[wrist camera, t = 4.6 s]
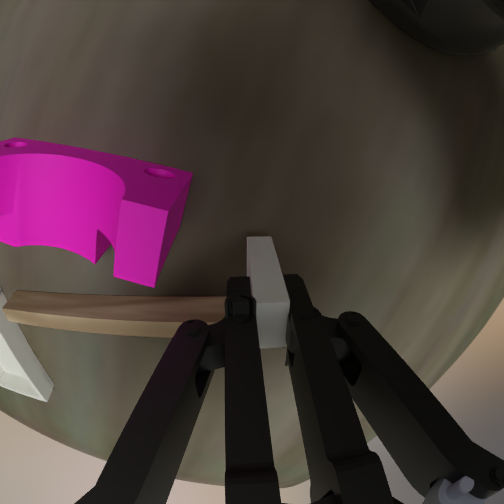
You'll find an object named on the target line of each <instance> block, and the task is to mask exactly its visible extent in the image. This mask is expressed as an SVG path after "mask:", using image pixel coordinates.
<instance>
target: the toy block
mask: <svg viewBox="0 0 504 504" xmlns="http://www.w3.org/2000/svg"><path fill="white" fill-rule="evenodd" d="M192 176H193V173H191V172H187V171H183V170H179V169H175V168H171V167H167V166H163V165H159V164H155V163H150V162H146V161H142V160H137V159H133V158H128V157H124V156H119V155H114V154H109V153H104V152H99V151H94V150H89V149H84V148H78V147H73V146H67V145H61V144H55V143H49V142H43V141H36V140H29V139H22V138H11V139H8V140H4V141H1V142H0V241H1V242H4V243H6V244H9V245H11V246H14V247H18V246H26V245H45V246H53V247H58V248H63V249H66V250H69V251H72V252H75V253H77V254H79V255H81V256H83V257H85V258H87V259H88V260H90V261H91V262H93V263H94V264H96V263H97V261H98V260H99V259H100V257H101V256H102V255H103V254H104V252H105V251H106V250H107V248H108V247H109V246H110V245H111V244H112V246H113V248H114V251H115V261H114V275H113V276H114V277H117V278H120V279H124V280H127V281H131V282H134V283H138V284H142V285H145V286H149V287H153V288H154V287H155V285H156V282H157V280H158V277H159V275H160V272H161V270H162V267H163V265H164V262H165V260H166V258H167V255H168V253H169V250H170V248H171V246H172V243H173V241H174V239H175V236H176V234H177V232H178V229H179V227H180V224H181V220H182V215H183V211H184V207H185V203H186V199H187V195H188V191H189V187H190V183H191V180H192Z"/></svg>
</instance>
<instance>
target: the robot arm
mask: <svg viewBox="0 0 504 504" xmlns="http://www.w3.org/2000/svg"><path fill="white" fill-rule="evenodd" d="M371 1H372V2H373V3H374V4H375V5H376V6H377V7H378V8H379V9H380V10H381V11H382V12H383V13H384V14H385V15H386V16H387V17H388V18H389V19H390V20H392V21H393V22H394V23H395V24H396V25H397V26H399V27H400V28H401V29H402V30H404V31H405V32H406V33H408V34H409V35H411V36H412V37H413V38H415V39H417V40H418V41H420V42H421V43H423V44H425V45H427V46H429V47H430V48H433V49H435V50H437V51H440V52H442V53H445V54H449V55H454V56H470V55H482V54H487V53H490V52H492V51H494V50H495V49H496V48H497V47H499V46H501V45H504V0H371ZM224 305H225V317H224V318H223V319H222V320H221V321H219V322H217V323H214V324H210V325H208V324H207V323H206V322H204V321H202V320H199V319H192V320H187V321H185V322H183V323H182V324H181V325H180V326H179V327H178V329H177V331H176V333H175V334H174V336H173V338H172V340H171V342H170V343H169V345H168V347H167V349H166V351H165V352H164V354H163V356H162V358H161V360H160V362H159V363H158V365H157V367H156V369H155V371H154V373H153V374H152V376H151V378H150V380H149V382H148V384H147V386H146V387H145V389H144V391H143V393H142V395H141V397H140V399H139V401H138V402H137V404H136V406H135V408H134V410H133V412H132V414H131V416H130V418H129V420H128V422H127V423H126V425H125V427H124V429H123V431H122V433H121V435H120V437H119V439H118V441H117V443H116V445H115V447H114V449H113V451H112V453H111V455H110V457H109V459H108V461H107V463H106V465H105V467H104V469H103V471H102V473H101V475H100V477H99V479H98V481H97V483H96V485H95V486H94V487H93V488H92V489H91V490H90V491H89V492H87V493H86V494H85V495H84V496H83V497H82V498H81V499H79V500H78V501H77V502H76V503H75V504H166V502H167V499H168V496H169V494H170V491H171V488H172V485H173V483H174V480H175V477H176V475H177V472H178V469H179V466H180V464H181V461H182V458H183V456H184V453H185V450H186V447H187V445H188V442H189V439H190V436H191V434H192V431H193V428H194V425H195V423H196V420H197V417H198V415H199V412H200V409H201V406H202V404H203V401H204V398H205V395H206V393H207V390H208V387H209V384H210V381H211V379H212V376H213V373H214V369H218V368H221V367H225V452H226V471H225V502H226V504H285V503H281V499H280V490H279V483H278V476H277V472H276V469H275V467H274V461H273V453H272V445H271V436H270V428H269V420H268V412H267V403H266V395H265V387H264V378H263V370H262V362H261V353H260V349H262V348H280V347H285V344H286V343H287V354H286V362H285V366H288V365H289V370H290V375H291V380H292V385H293V390H294V396H295V401H296V406H297V411H298V416H299V421H300V427H301V432H302V437H303V443H304V448H305V453H306V459H307V464H308V469H309V475H310V481H311V487H310V498H311V504H403V503H401V502H400V501H398V500H397V499H395V498H394V497H392V495H391V491H390V488H389V485H388V481H387V478H386V475H385V472H384V469H383V465H382V462H381V460H380V458H379V456H378V455H377V454H376V453H375V452H372V451H370V450H369V448H368V446H367V442H366V439H365V436H364V433H363V430H362V427H361V424H360V421H359V418H358V415H357V412H356V409H355V406H354V403H353V400H354V402H355V403H356V404H357V406H358V407H359V409H360V410H361V412H362V413H363V415H364V416H365V418H366V419H367V421H368V422H369V424H370V425H371V427H372V428H373V430H374V431H375V433H376V434H377V436H378V437H379V439H380V440H381V441H382V443H383V445H384V446H385V448H386V449H387V451H388V452H389V454H390V455H391V457H392V458H393V459H394V461H395V463H396V464H397V465H398V467H399V468H400V470H401V471H402V473H403V474H404V476H405V477H406V479H407V480H408V481H409V483H410V484H411V485H412V486H413V488H415V489H416V490H417V491H418V492H419V493H420V494H421V495H422V496H424V497H425V500H424V502H423V504H484V503H485V501H486V499H487V498H488V497H490V496H492V495H493V494H495V493H497V492H498V491H500V490H501V489H502V488H504V460H502V459H500V458H499V457H497V456H495V455H494V454H491V453H490V452H489V451H487V450H485V449H483V448H482V447H480V446H479V445H477V444H475V443H474V442H472V441H471V440H470V439H469V437H468V436H467V435H466V434H465V432H464V431H463V430H462V429H461V427H460V426H459V425H458V424H457V423H456V421H455V420H454V419H453V418H452V417H451V415H450V414H449V413H448V412H447V410H446V409H445V408H444V407H443V406H442V405H441V403H440V402H439V401H438V400H437V398H436V397H435V396H434V395H433V394H432V392H431V391H430V390H429V389H428V388H427V387H426V385H425V384H424V383H423V382H422V381H421V380H420V378H419V377H418V376H417V375H416V374H415V373H414V372H413V370H412V369H411V368H410V367H409V366H408V365H407V364H406V362H405V361H404V360H403V359H402V358H401V357H400V356H399V355H398V353H397V352H396V351H395V350H394V349H393V348H392V347H391V346H390V344H389V343H388V342H387V341H386V340H385V339H384V338H383V337H382V336H381V335H380V333H379V332H378V331H377V330H376V329H375V328H374V327H373V326H372V325H371V324H370V322H369V321H368V320H367V319H366V318H365V317H364V316H362V315H361V314H359V313H357V312H352V311H348V312H344V313H342V314H341V315H340V316H339V318H338V319H335V318H329V317H325V316H322V315H321V313H320V312H319V310H318V309H316V308H315V307H313V305H312V302H311V300H310V297H309V294H308V292H307V289H306V286H305V284H304V281H303V279H302V278H301V277H300V276H299V275H297V274H288V275H282V271H281V268H280V264H279V261H278V258H277V254H276V251H275V247H274V244H273V240H272V237H271V236H264V237H247V276H244V277H230V279H229V280H228V281H227V295H226V299H225V302H224ZM352 399H353V400H352Z"/></svg>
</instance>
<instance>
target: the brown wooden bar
mask: <svg viewBox="0 0 504 504" xmlns="http://www.w3.org/2000/svg"><path fill="white" fill-rule="evenodd" d="M225 299H226V296H212V297H163V296H114V295H87V294H67V293H50V292H35V291H21V290H17V291H16V292H15V293H14V294H13V296H12V297H11V298H10V299H9V300H8V301H7V303H6V304H5V305H4V306H3V307H2V309H3V312H4V314H5V316H6V318H7V320H8V321H11V322H16V323H22V324H28V325H35V326H41V327H48V328H56V329H63V330H72V331H81V332H90V333H101V334H113V335H127V336H144V337H169V338H173V336H174V334H175V333H176V331H177V329H178V327H179V326H180V325H181V324H182V323H183V322H185V321H187V320H192V319H199V320H202V321H204V322H206V323H207V324H208V325H210V324H214V323H217V322H219V321H221V320H222V319H223V318H224V317H225V305H224V302H225Z"/></svg>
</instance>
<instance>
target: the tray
mask: <svg viewBox="0 0 504 504" xmlns="http://www.w3.org/2000/svg"><path fill="white" fill-rule="evenodd" d="M6 303H7V300H6V298H5V295H4V293H3V291H2V288H1V286H0V386H1V387H4V388H7V389H9V390H12V391H15V392H17V393H20V394H23V395H26V396H29V397H32V398H35V399H38V400H41V401H45V402H47V401H48V399H49V397H50V394H51V392H52V390H53V388H54V384H53V382H52V381H51V379H50V378H49V376H48V375H47V373H46V372H45V370H44V369H43V367H42V365H41V364H40V362H39V361H38V359H37V357H36V356H35V354H34V352H33V351H32V349H31V347H30V345H29V344H28V342H27V340H26V338H25V336H24V335H23V333H22V331H21V329H20V327H19V325H18V323H16V322H11V321H8V320H7V318H6V316H5V314H4V312H3V309H2V307H3V306H4V305H5V304H6Z"/></svg>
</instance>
